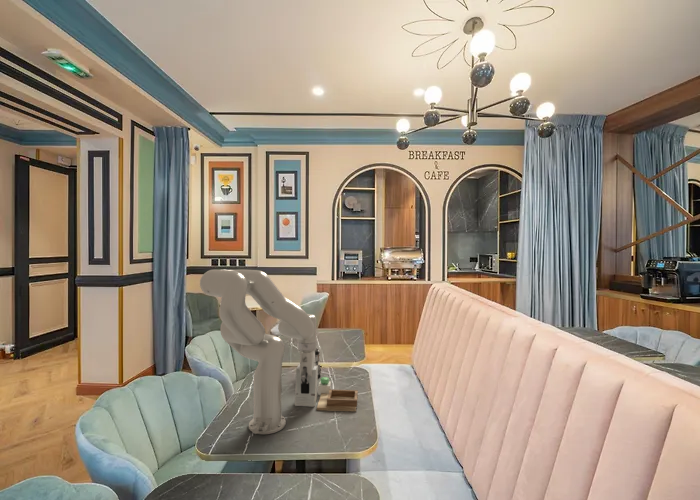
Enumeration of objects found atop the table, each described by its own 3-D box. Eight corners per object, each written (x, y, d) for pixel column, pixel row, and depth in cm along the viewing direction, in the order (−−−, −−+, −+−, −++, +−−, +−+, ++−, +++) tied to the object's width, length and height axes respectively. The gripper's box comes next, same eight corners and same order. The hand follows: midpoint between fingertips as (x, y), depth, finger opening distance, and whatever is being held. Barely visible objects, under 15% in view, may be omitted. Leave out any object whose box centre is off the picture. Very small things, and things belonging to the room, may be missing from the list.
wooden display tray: (356, 411, 133) (356, 402, 133) (316, 410, 134) (316, 401, 134) (357, 396, 146) (357, 388, 146) (321, 395, 147) (321, 387, 147)
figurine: (301, 382, 161) (301, 350, 161) (302, 373, 172) (302, 343, 172) (320, 382, 162) (321, 349, 161) (320, 373, 173) (321, 343, 173)
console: (329, 395, 147) (329, 386, 147) (318, 395, 148) (318, 385, 148) (331, 390, 152) (331, 381, 152) (319, 390, 153) (319, 381, 152)
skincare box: (294, 406, 137) (294, 368, 137) (297, 399, 143) (297, 363, 143) (315, 407, 136) (315, 369, 136) (317, 400, 143) (318, 364, 142)
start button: (328, 392, 148) (328, 380, 148) (319, 392, 148) (319, 380, 148) (329, 389, 152) (329, 377, 152) (321, 389, 152) (321, 377, 152)
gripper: (312, 352, 131) (313, 397, 131) (319, 339, 148) (319, 379, 149) (293, 352, 131) (293, 397, 132) (301, 339, 148) (302, 379, 149)
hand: (307, 387), depth 140 cm, fingers open, 9 cm apart
